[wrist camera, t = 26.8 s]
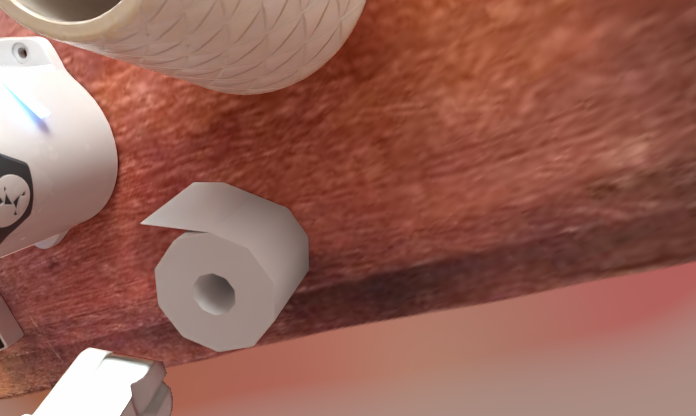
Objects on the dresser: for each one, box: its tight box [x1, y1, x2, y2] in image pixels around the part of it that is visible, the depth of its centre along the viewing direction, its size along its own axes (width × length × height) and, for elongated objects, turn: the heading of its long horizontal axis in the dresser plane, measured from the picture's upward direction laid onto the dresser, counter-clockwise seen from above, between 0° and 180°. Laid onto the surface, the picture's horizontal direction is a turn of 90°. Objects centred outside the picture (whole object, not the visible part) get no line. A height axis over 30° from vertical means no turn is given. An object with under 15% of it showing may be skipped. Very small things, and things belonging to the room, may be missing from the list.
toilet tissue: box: [140, 182, 309, 352], centre depth 47 cm, size 9×13×9 cm
